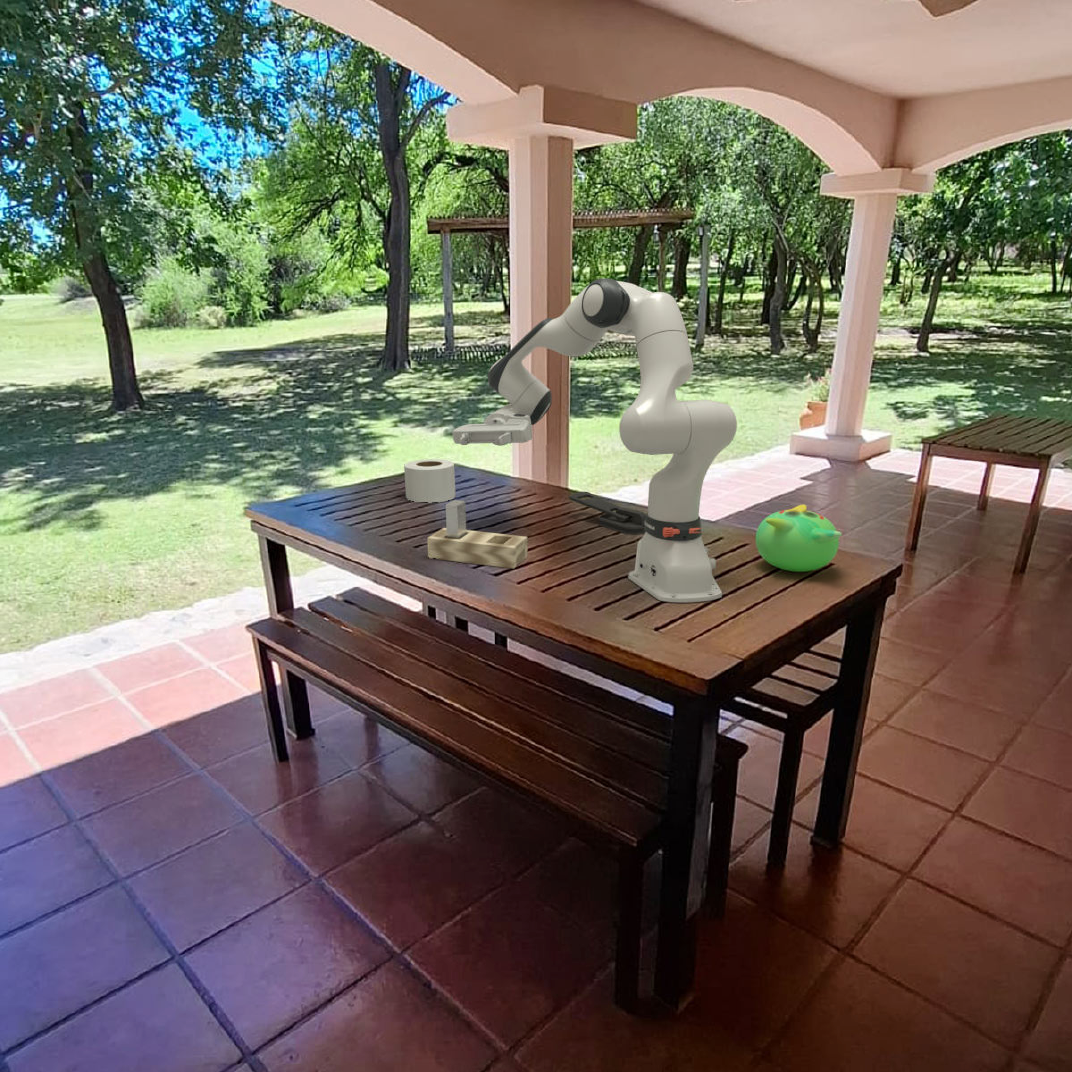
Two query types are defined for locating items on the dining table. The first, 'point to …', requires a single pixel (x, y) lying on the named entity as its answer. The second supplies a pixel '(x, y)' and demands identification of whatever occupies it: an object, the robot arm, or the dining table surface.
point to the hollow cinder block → (479, 548)
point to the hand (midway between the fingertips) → (480, 441)
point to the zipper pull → (613, 514)
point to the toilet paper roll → (429, 480)
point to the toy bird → (797, 540)
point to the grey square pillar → (456, 519)
